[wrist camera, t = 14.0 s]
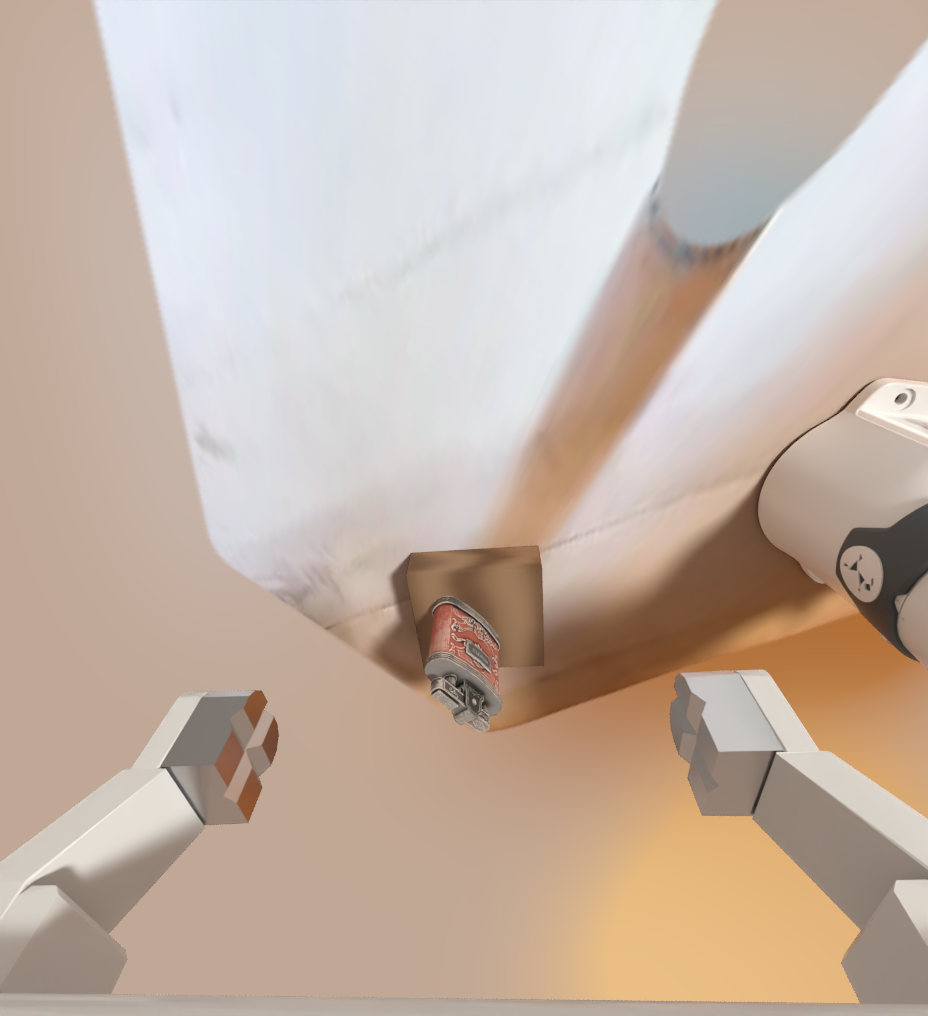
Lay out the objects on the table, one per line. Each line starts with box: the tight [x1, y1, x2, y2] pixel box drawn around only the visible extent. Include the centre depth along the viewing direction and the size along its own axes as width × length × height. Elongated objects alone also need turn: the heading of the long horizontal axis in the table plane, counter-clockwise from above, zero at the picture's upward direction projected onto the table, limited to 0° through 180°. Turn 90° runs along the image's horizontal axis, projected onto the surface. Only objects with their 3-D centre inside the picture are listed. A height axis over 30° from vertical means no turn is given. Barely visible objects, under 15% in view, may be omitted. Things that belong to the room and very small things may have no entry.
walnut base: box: [406, 546, 544, 670], centre depth 47 cm, size 12×12×4 cm
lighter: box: [425, 596, 502, 732], centre depth 41 cm, size 8×3×10 cm, turn 41°
